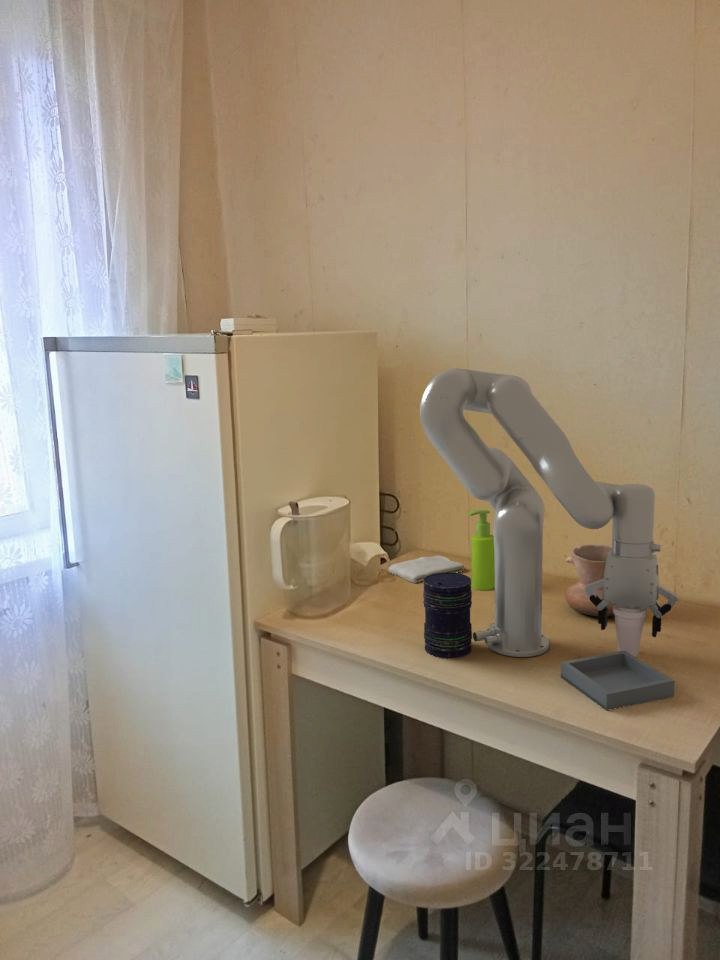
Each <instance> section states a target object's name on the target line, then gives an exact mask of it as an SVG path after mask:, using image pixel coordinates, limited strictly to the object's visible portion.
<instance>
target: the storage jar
mask: <svg viewBox="0 0 720 960" xmlns="http://www.w3.org/2000/svg"><path fill="white" fill-rule="evenodd" d="M472 593H473V592H472V577H470V576H468V575H466V574H464V573H448V572H446V573H435V574H431V575H428V576H426V577H425V578H424V581H423V595H422V596H423V601H422V603H423V606H424V612H425V613H424V614H425V618H424V619H425V620H424V621H425V622H424V624H423V625H424V626H423V628H424V629H423V630H424V631H423V638H424V651H425V653H427V654H428V653H429V654H430V655H429V654H428V655H429V656H431V655H433V656H432V657H434V656H435V657H434V658H437V657H439V659H444V658H447V660H448V658H451V659H450V660H452V658H454V659H460V658H464V657H467V656H468V655H469V654H471V653H472V649H473V648H472V639H473V631H472V622H471V608H472V604H473V602H472V598H473V594H472Z"/></svg>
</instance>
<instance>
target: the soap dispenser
mask: <svg viewBox="0 0 720 960" xmlns="http://www.w3.org/2000/svg"><path fill="white" fill-rule="evenodd" d="M490 513H491V511H490V510H489V509H474V510H471V511H468V512H467V515H469V516H472V517H473V516H475V515H479V521H478V522H476V523H475V524H476V525H475V529H476V531H475V532H476V534H472V536H470V538H471V541H470V542H471V544H470V545H471V547H470V548H471V551H470V552H471V554H470V555H471V563H470V564H471V589H474V590H478V591H490V590H495V553H494V534H493V535H492V534H491V524H490V522H488V521H487V519H488V518H487V514H490Z"/></svg>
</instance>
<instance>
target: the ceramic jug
mask: <svg viewBox="0 0 720 960" xmlns="http://www.w3.org/2000/svg"><path fill="white" fill-rule="evenodd" d="M611 550H612V545H608V544H607V545H606V544H584V545H583V544H582V545H579V546H578V547H577V546H575V547H574V548H573V549H572V550H571V556H568V557H567V558H566V559H565V562H566V563H568V564H569V563H570V564H572V565H573V566H574V567H575V570H576V574H577V577H578V579H579V581H577V582H575V583H574V584H572V585H570V586H568V587H567V589H566V592H565V594H564V595H565V600H566V603H567V605H568V606H569V607H570V608H571V609H573V610H574V611H576V612H578V613H580V614H583V615H588V616H591V617H592V616H593V617H598V610H597V607H596V606H595V605H594V604H593V603H592V602H591V601H590V598H589V596H588V594H587V592H586V590H585V587H586V585H588V584H591V583H593V582H596V581H599V580H602V579H604V573H605V566H606V560H607V556H608V552H609V551H611ZM594 591H595V594H596V595H597V596H598V597H599V598H600V599H601V600H602V599H603V587H601V588H598V589H596V590H594ZM614 605H615V604H614V603H609V604H608V605H607V608H608V612H607V617H612V616H613V617H615V614H614V613H613V606H614Z"/></svg>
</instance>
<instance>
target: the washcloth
mask: <svg viewBox="0 0 720 960" xmlns="http://www.w3.org/2000/svg"><path fill="white" fill-rule="evenodd" d="M464 567H465V566H464V564H463V563H461V562H457V561H452V560H451V559H450V558H447V557H445V556H442V555H433V556H420V557H419V558H415V559H408V560H405V561H402V562H397V563H394V564H392V565H390V566H389V567H388V569H387V570H388V572H389V573H390V574H391V573H392V574H391V575H393V574H394V576H396V575H398V576H397V577H399V576H400V577H399V578H401V577H402V578H401V579H403V580H405V581H407V580H408V582H409V581H410V582H409V583H412V582H413V584H417V582H418V583H421V582H420V581H423V582H424V578H425V577H426V576H428V575H431V574H435V573H446V572H448V573H456V572H460V573H462V572H461V571H464V572H465V569H464Z"/></svg>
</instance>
